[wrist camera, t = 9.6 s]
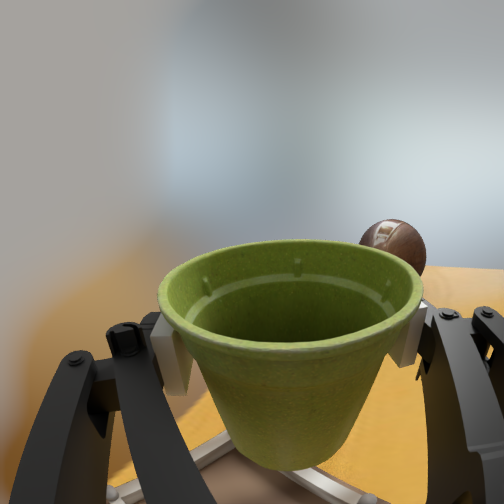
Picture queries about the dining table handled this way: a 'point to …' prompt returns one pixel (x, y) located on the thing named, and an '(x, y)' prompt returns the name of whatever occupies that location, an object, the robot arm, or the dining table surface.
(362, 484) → the dining table surface
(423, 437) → the dining table surface
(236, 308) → the plant pot
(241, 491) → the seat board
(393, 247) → the wooden sphere
